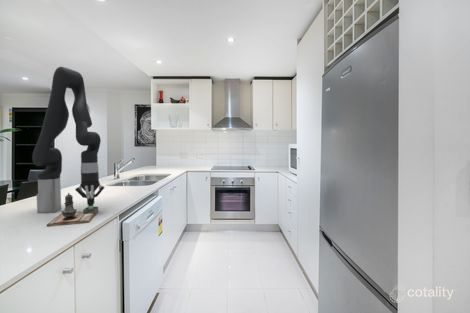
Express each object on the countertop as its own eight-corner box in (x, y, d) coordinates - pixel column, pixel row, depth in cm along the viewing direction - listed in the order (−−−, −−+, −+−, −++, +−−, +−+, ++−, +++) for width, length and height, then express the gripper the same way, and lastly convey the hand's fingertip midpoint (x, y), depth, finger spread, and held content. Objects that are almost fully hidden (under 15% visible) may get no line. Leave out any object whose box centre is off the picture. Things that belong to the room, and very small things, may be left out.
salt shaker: (60, 221, 102) (59, 194, 102) (62, 217, 108) (62, 192, 107) (76, 219, 105) (75, 193, 105) (78, 215, 110) (77, 191, 110)
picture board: (46, 226, 99) (46, 219, 99) (62, 214, 116) (61, 208, 116) (89, 222, 105) (89, 216, 105) (98, 211, 122) (98, 205, 122)
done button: (87, 212, 115) (87, 206, 115) (88, 210, 118) (88, 205, 118) (93, 211, 116) (93, 205, 116) (94, 210, 119) (94, 204, 119)
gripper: (106, 170, 122) (107, 202, 123) (76, 171, 117) (77, 204, 118) (103, 171, 115) (104, 206, 116) (71, 172, 110) (73, 208, 111)
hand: (90, 205), depth 117 cm, fingers closed
